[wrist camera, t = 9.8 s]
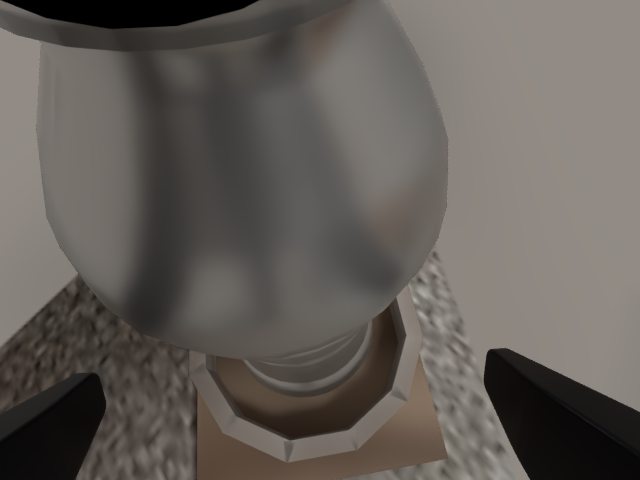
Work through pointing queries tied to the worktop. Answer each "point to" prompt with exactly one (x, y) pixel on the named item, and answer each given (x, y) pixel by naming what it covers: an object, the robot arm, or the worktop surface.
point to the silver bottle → (240, 171)
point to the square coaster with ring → (321, 414)
